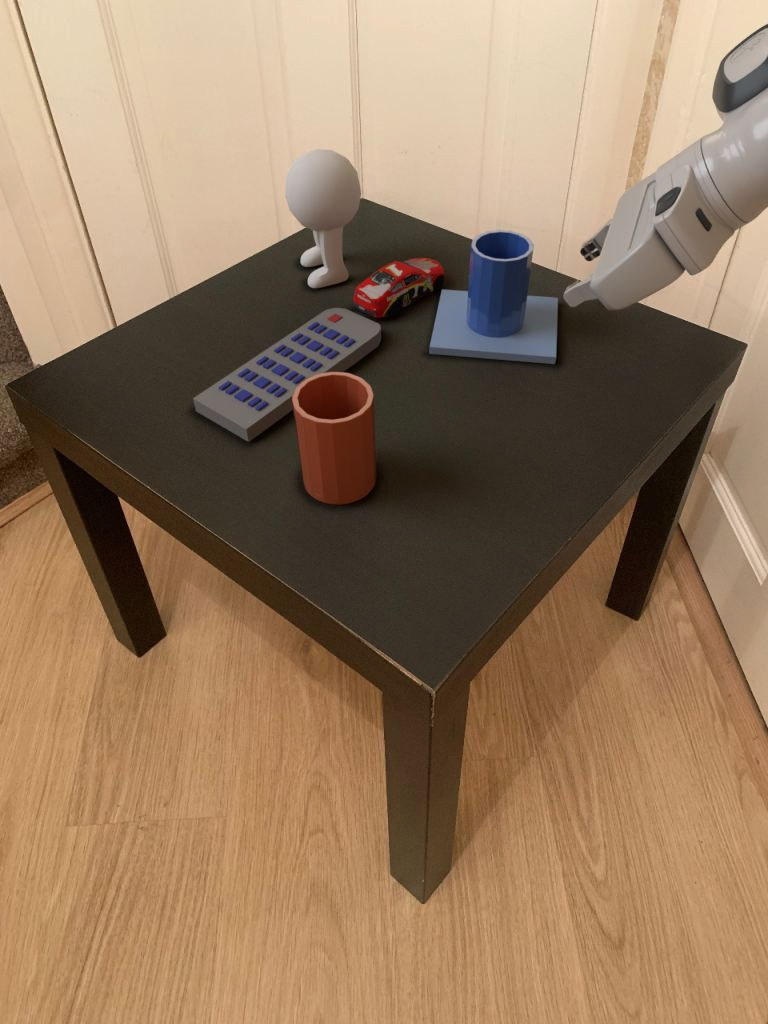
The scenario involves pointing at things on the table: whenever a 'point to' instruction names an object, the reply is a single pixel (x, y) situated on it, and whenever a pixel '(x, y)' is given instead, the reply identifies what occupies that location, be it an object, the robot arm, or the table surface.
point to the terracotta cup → (336, 436)
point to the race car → (398, 286)
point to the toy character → (323, 209)
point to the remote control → (287, 371)
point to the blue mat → (524, 345)
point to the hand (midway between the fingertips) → (576, 275)
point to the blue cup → (498, 282)
